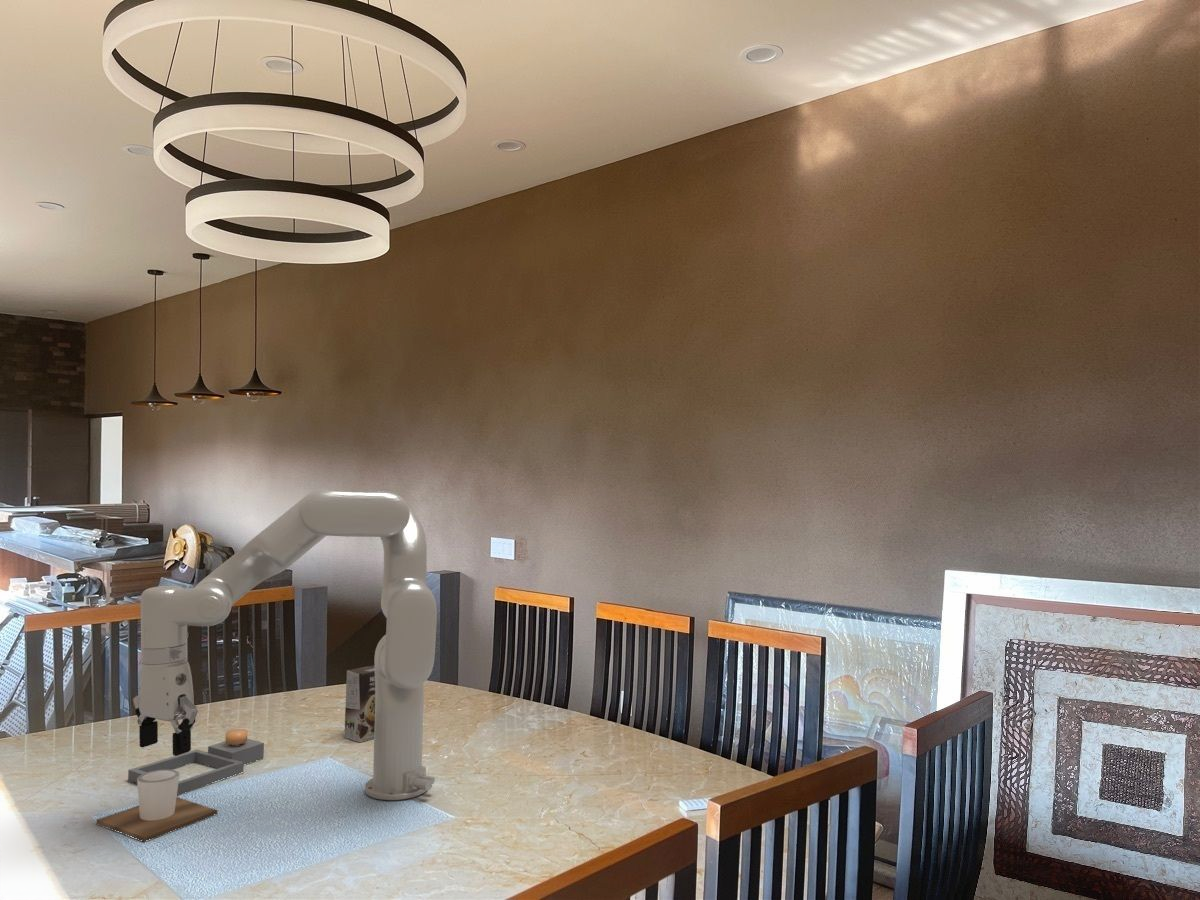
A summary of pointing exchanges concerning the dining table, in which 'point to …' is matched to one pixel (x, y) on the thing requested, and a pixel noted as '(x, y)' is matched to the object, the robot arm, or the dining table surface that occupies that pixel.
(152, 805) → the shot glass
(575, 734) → the dining table surface
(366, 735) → the coffee box
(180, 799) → the walnut mat
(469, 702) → the dining table surface
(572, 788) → the dining table surface
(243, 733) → the orange rounded piece
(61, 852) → the dining table surface
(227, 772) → the housing
